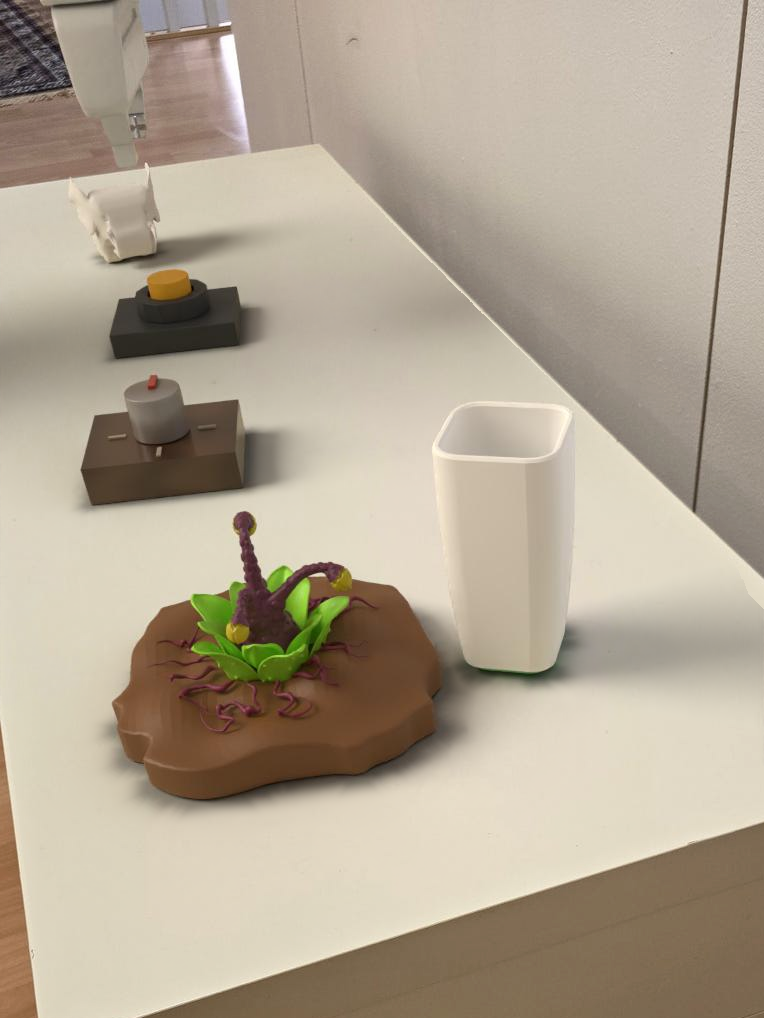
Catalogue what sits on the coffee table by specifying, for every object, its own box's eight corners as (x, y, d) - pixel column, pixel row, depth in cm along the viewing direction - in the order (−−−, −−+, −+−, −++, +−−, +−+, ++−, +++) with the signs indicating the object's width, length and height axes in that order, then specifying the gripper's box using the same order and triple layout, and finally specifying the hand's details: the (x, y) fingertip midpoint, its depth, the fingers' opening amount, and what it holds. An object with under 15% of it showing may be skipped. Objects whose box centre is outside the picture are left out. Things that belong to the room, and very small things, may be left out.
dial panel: (91, 505, 96) (79, 467, 94) (104, 449, 103) (93, 413, 101) (243, 487, 97) (235, 450, 94) (245, 433, 104) (238, 397, 102)
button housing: (115, 358, 118) (103, 316, 115) (124, 320, 125) (113, 280, 122) (239, 345, 118) (230, 302, 116) (241, 308, 125) (233, 267, 123)
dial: (187, 441, 96) (175, 394, 94) (131, 447, 96) (118, 400, 94) (192, 418, 100) (181, 371, 97) (138, 423, 99) (126, 377, 97)
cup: (581, 624, 80) (579, 403, 70) (561, 690, 75) (556, 462, 64) (473, 616, 81) (456, 399, 71) (446, 680, 76) (424, 456, 66)
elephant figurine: (101, 281, 134) (78, 193, 128) (79, 251, 142) (56, 167, 136) (185, 263, 137) (166, 176, 130) (159, 235, 145) (140, 151, 138)
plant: (417, 586, 84) (400, 431, 77) (463, 761, 70) (447, 593, 63) (127, 628, 83) (80, 474, 75) (114, 816, 69) (54, 650, 61)
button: (149, 304, 118) (144, 285, 116) (152, 290, 120) (148, 271, 119) (190, 300, 118) (186, 281, 117) (193, 285, 121) (189, 267, 119)
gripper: (68, -58, 105) (111, 124, 115) (29, -18, 90) (83, 187, 100) (141, -64, 105) (178, 117, 115) (115, -25, 91) (160, 179, 100)
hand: (134, 150), depth 107 cm, fingers open, 8 cm apart
